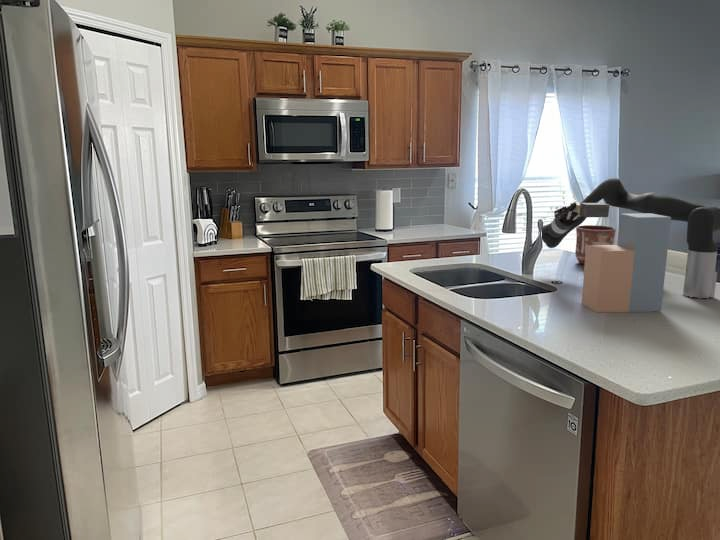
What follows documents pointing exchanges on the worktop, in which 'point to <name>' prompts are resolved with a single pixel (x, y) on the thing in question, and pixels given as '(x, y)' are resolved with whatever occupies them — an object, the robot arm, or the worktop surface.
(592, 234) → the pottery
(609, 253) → the step stand
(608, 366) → the worktop surface
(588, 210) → the mallet
